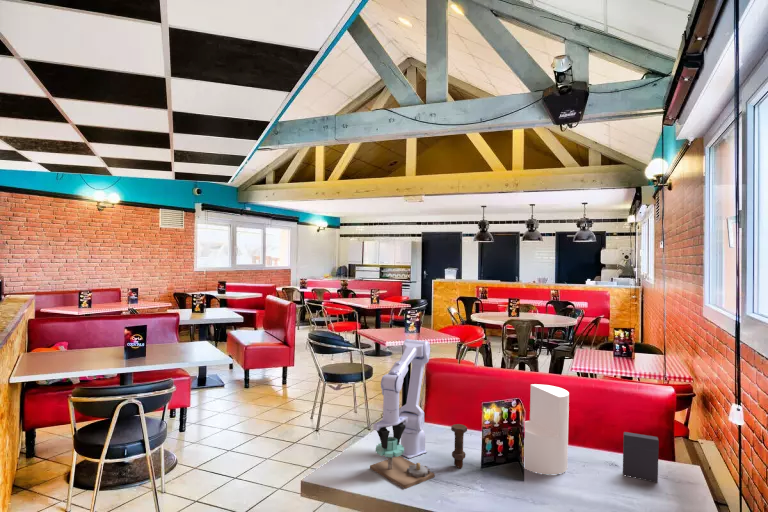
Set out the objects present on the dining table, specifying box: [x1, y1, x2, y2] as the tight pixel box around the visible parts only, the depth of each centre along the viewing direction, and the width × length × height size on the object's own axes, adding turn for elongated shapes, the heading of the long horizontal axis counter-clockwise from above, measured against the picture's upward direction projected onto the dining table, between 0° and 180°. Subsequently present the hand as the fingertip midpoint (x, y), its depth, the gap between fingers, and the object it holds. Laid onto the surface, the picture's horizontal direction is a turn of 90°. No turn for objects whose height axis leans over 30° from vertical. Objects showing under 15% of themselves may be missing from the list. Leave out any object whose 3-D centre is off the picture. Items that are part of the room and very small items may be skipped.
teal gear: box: [375, 436, 404, 458], centre depth 174 cm, size 10×10×4 cm
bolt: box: [450, 423, 468, 469], centre depth 179 cm, size 6×5×15 cm
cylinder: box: [524, 383, 570, 475], centre depth 182 cm, size 17×17×28 cm
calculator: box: [622, 431, 660, 483], centre depth 173 cm, size 11×4×15 cm, turn 65°
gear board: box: [369, 455, 436, 490], centre depth 173 cm, size 14×19×5 cm
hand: (390, 446), depth 173 cm, fingers closed on teal gear, 5 cm apart
